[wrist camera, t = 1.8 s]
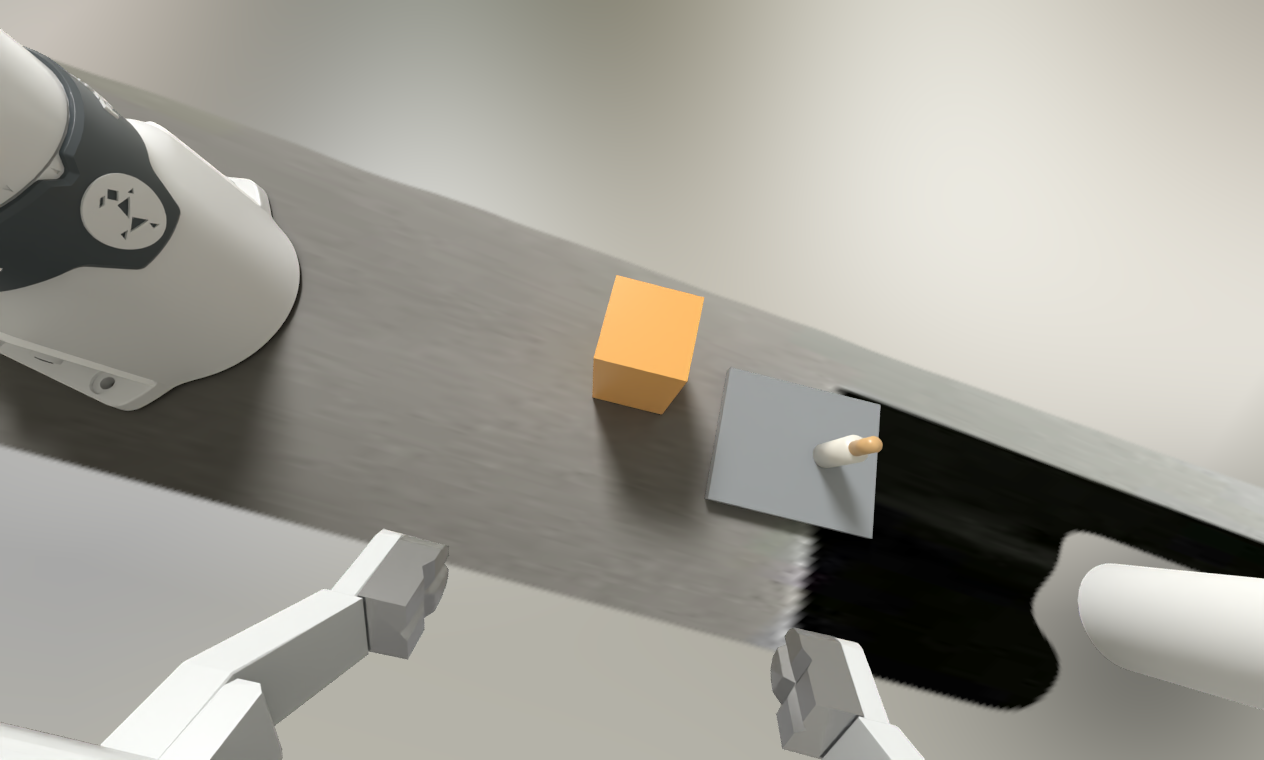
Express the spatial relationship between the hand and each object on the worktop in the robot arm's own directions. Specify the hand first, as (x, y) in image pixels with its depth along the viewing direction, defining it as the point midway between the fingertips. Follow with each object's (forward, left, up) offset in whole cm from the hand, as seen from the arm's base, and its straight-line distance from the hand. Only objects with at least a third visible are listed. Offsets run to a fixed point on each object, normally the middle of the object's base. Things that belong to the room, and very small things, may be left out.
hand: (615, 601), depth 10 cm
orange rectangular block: (0, +12, -21) cm, 25 cm away
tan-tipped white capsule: (+15, +9, -21) cm, 27 cm away
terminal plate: (+13, +10, -21) cm, 26 cm away
